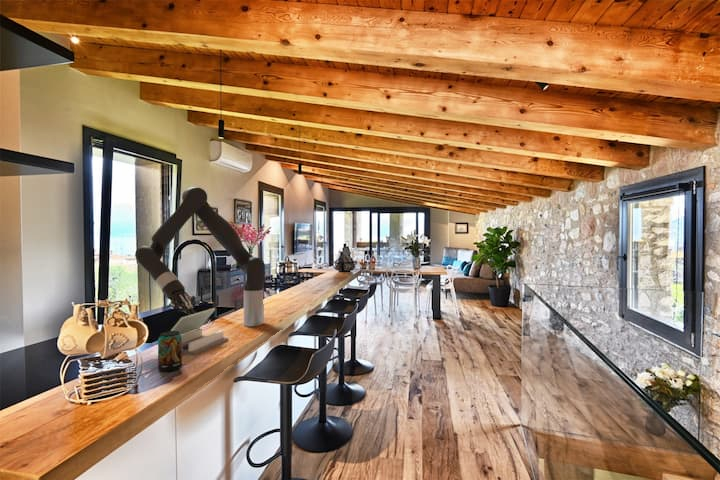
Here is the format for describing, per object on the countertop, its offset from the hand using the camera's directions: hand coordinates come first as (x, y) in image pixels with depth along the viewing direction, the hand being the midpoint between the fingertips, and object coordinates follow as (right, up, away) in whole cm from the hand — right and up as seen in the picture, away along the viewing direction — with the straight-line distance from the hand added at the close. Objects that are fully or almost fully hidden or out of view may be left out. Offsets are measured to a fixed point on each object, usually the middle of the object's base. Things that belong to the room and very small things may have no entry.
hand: (194, 317), depth 152 cm
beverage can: (+3, -12, -26) cm, 29 cm away
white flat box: (0, -11, 0) cm, 11 cm away
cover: (-1, -3, 0) cm, 3 cm away
